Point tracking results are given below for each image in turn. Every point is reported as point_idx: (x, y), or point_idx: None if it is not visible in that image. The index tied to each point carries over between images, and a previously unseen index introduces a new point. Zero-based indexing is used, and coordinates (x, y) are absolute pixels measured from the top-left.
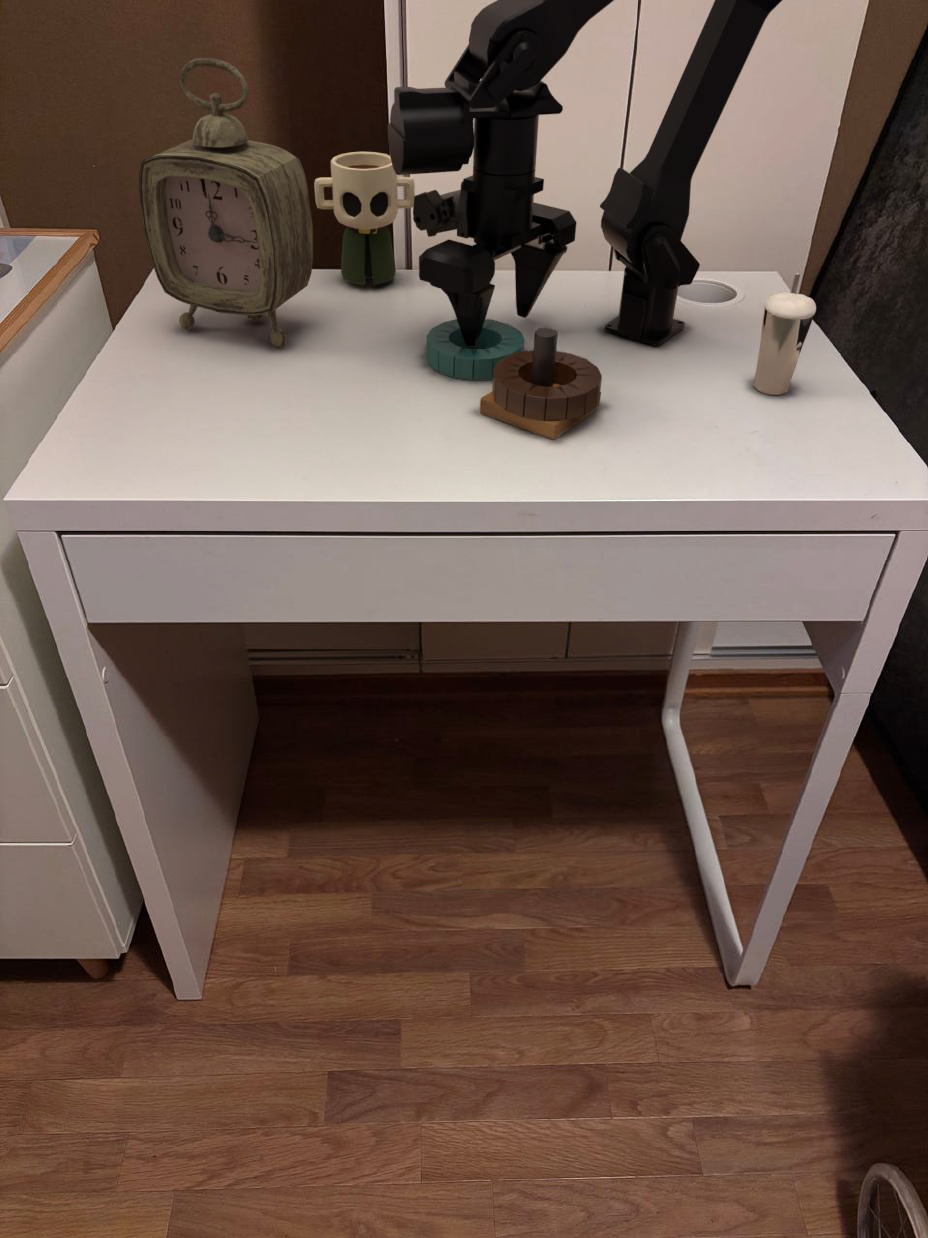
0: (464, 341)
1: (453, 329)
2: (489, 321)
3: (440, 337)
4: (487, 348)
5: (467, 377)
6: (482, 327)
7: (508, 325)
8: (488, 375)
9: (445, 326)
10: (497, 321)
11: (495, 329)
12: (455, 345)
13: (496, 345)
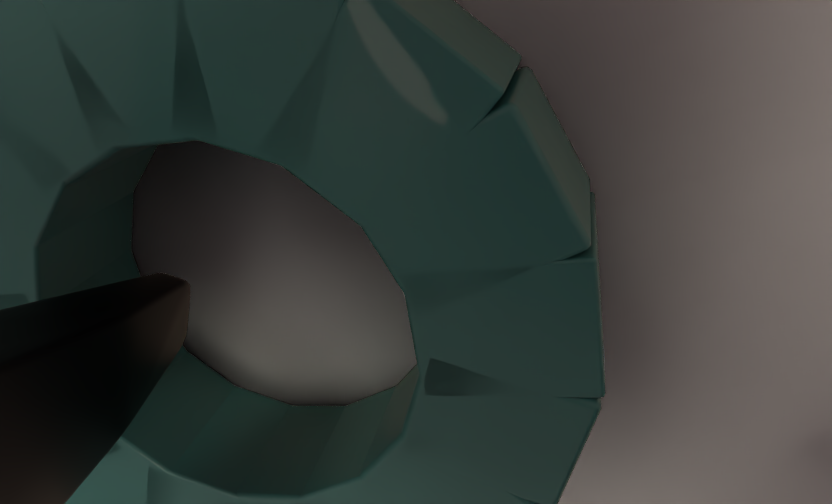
0: (145, 276)
1: (259, 138)
2: (553, 368)
3: (70, 90)
4: (119, 443)
5: None
6: (74, 488)
7: (538, 501)
8: None
9: (276, 43)
10: (575, 425)
11: (419, 436)
12: (29, 249)
13: (189, 481)
